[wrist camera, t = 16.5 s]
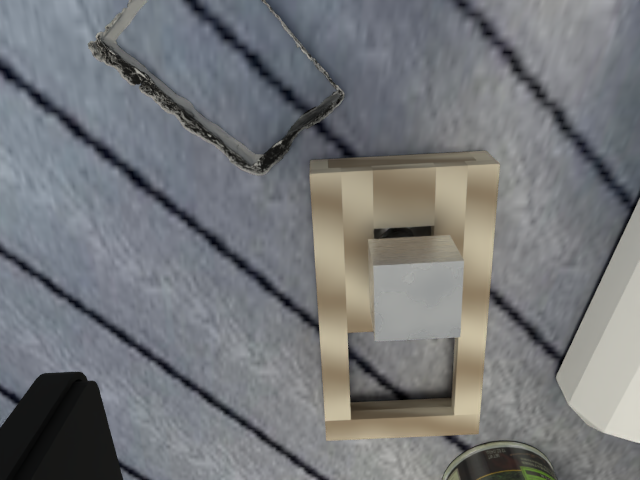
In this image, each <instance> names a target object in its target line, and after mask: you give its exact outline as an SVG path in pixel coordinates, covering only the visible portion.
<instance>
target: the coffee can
mask: <svg viewBox="0 0 640 480" xmlns="http://www.w3.org/2000/svg"><path fill="white" fill-rule="evenodd" d="M442 480H558V479H557V477H556V475H555V473H554V470H553V467H552V465H551V463H550V462H549V460H548V459H547V458H546V457H545V455H544V454H542V453H541V452H540V451H538V450H537V449H535V448H533V447H531V446H528V445H526V444H522V443H518V442H511V441H499V442H491V443H486V444H483V445H479V446H476V447H474V448H471V449H469V450H468V451H466V452H464V453H463V454H461V455H460V456H458V457H457V458H456V459H455V460H454V461H453V462H452V463H451V464H450V465H449V467H448V468H447V470H446V472H445V474H444V476H443V479H442Z"/></svg>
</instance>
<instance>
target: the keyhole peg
mask: <svg viewBox="0 0 640 480" xmlns="http://www.w3.org/2000/svg"><path fill="white" fill-rule="evenodd" d="M368 263H369V300H370V314H371V320H372V326H373V332H374V338H375V342H380V341H399V340H418V339H438V338H457V337H460V333H461V313H462V293H463V273H464V260H463V258H462V256H461V254H460V252H459V251H458V249H457V247H456V245H455V243H454V241H453V240H452V238H451V236H450V235H440V236H431V226H420V227H400V228H381V229H374V239H368Z"/></svg>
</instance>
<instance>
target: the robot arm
mask: <svg viewBox="0 0 640 480" xmlns="http://www.w3.org/2000/svg"><path fill="white" fill-rule="evenodd" d="M0 480H123V478H122V474H121V470H120V466H119V462H118V459H117V455H116V451H115V447H114V444H113V440H112V436H111V432H110V429H109V425H108V421H107V417H106V414H105V410H104V406H103V402H102V399H101V395H100V391H99V388H98V385H97V383H96V382H95V381H87V378H86V376H85V375H84V374H83V373H81V372H63V373H45V374H42V375H40V376H39V377H38V378H37V379H36V380H35V381H34V383H33V384H32V386H31V387H30V388H29V390H28V391H27V392H26V394H25V395H24V396H23V398H22V399H21V401H20V402H19V403H18V405H17V406H16V407H15V409H14V410H13V412H12V413H11V414H10V416H9V417H8V418H7V420H6V421H5V422H4V424H3V425H2V427H1V428H0Z"/></svg>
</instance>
